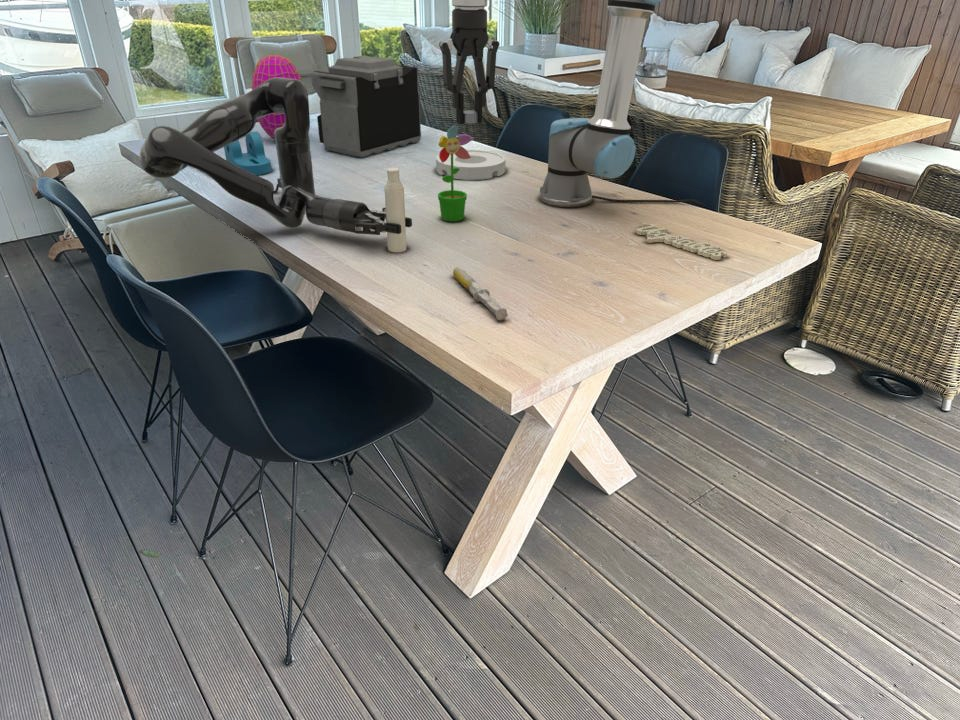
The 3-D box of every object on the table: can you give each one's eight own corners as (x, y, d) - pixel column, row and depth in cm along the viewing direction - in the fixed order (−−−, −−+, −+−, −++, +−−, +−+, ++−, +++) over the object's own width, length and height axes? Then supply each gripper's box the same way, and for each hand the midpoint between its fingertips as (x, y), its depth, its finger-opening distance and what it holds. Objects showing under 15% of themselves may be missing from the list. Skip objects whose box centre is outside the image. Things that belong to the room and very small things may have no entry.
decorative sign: (622, 230, 178) (646, 222, 184) (622, 233, 179) (645, 225, 184) (711, 260, 161) (734, 250, 167) (711, 264, 162) (733, 253, 167)
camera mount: (227, 164, 233) (221, 132, 227) (257, 160, 238) (252, 129, 233) (244, 176, 220) (239, 143, 215) (276, 172, 225) (271, 139, 220)
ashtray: (439, 160, 240) (438, 148, 238) (505, 161, 240) (505, 150, 238) (433, 179, 220) (432, 166, 218) (505, 180, 220) (505, 168, 218)
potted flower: (443, 224, 183) (442, 128, 170) (432, 216, 189) (429, 122, 176) (475, 219, 187) (476, 124, 174) (462, 211, 193) (462, 119, 180)
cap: (475, 119, 159) (475, 110, 158) (479, 123, 156) (479, 113, 155) (459, 120, 159) (459, 110, 158) (462, 123, 155) (462, 113, 154)
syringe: (449, 274, 155) (449, 263, 153) (465, 272, 156) (464, 260, 154) (490, 323, 135) (491, 310, 133) (508, 319, 136) (508, 307, 134)
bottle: (388, 252, 166) (383, 172, 156) (387, 246, 170) (383, 166, 160) (407, 252, 167) (403, 171, 157) (406, 245, 170) (402, 166, 160)
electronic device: (383, 133, 276) (378, 52, 261) (425, 141, 265) (422, 56, 250) (314, 150, 251) (304, 61, 235) (358, 160, 240) (350, 67, 224)
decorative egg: (293, 132, 276) (283, 50, 261) (319, 140, 264) (310, 56, 249) (249, 139, 265) (236, 54, 250) (273, 148, 253) (261, 60, 238)
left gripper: (363, 221, 178) (421, 231, 172) (330, 239, 166) (391, 250, 160) (360, 193, 174) (420, 202, 168) (327, 209, 163) (389, 219, 156)
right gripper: (437, 9, 140) (439, 128, 152) (513, 8, 145) (509, 123, 157) (426, 7, 146) (429, 121, 158) (499, 6, 151) (496, 117, 163)
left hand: (405, 226), depth 164 cm, fingers closed on bottle, 4 cm apart
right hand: (469, 122), depth 157 cm, fingers closed on cap, 4 cm apart
